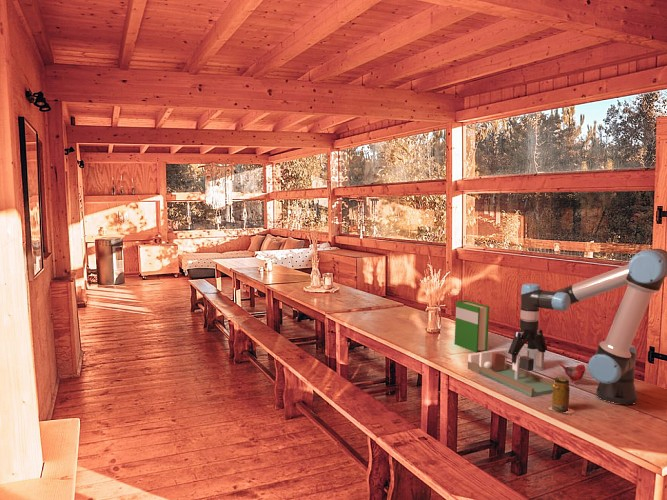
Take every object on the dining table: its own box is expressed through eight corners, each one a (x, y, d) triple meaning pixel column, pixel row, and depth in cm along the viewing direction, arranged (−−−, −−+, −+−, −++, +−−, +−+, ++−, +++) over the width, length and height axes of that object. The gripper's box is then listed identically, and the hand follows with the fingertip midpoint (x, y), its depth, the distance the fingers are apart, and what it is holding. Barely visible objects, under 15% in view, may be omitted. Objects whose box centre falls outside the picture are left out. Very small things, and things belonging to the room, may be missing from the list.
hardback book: (487, 351, 293) (489, 306, 291) (476, 352, 290) (478, 307, 288) (464, 342, 309) (466, 300, 307) (454, 344, 306) (456, 301, 303)
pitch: (558, 391, 233) (559, 368, 232) (531, 396, 227) (532, 373, 226) (492, 364, 269) (493, 344, 268) (467, 368, 262) (468, 348, 261)
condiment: (554, 404, 219) (556, 375, 218) (576, 410, 213) (578, 380, 212) (547, 409, 214) (549, 379, 213) (569, 415, 208) (571, 384, 207)
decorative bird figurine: (581, 389, 237) (583, 366, 236) (555, 375, 254) (556, 354, 253) (587, 388, 238) (589, 366, 237) (560, 375, 255) (561, 354, 254)
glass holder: (545, 371, 260) (547, 340, 259) (514, 369, 263) (516, 338, 262) (542, 366, 269) (544, 336, 267) (512, 363, 272) (513, 333, 270)
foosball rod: (535, 382, 239) (536, 358, 238) (524, 384, 236) (525, 360, 235) (501, 368, 257) (502, 346, 256) (491, 370, 255) (492, 347, 253)
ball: (488, 368, 264) (494, 370, 260) (481, 369, 262) (487, 371, 258) (488, 360, 263) (494, 362, 260) (481, 361, 262) (487, 363, 258)
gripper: (543, 315, 246) (541, 362, 248) (500, 320, 235) (498, 369, 237) (557, 319, 239) (555, 367, 241) (513, 324, 228) (511, 374, 230)
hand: (527, 368), depth 239 cm, fingers open, 13 cm apart
